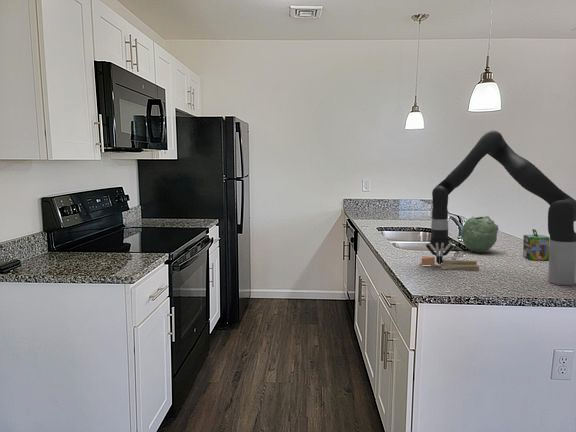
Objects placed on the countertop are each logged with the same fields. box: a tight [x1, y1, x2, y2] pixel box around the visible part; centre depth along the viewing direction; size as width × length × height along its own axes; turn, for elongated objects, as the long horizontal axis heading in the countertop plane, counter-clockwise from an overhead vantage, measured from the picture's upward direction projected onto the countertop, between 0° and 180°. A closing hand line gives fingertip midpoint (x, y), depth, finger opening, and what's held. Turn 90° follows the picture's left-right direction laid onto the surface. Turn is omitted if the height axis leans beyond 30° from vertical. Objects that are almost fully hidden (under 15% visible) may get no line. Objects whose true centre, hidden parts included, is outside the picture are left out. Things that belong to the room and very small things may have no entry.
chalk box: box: [522, 228, 550, 261], centre depth 206 cm, size 9×9×15 cm
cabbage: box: [460, 215, 499, 254], centre depth 224 cm, size 16×19×20 cm
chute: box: [440, 258, 480, 272], centre depth 195 cm, size 12×16×2 cm
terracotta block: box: [421, 255, 436, 267], centre depth 200 cm, size 6×6×4 cm
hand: (439, 263), depth 198 cm, fingers closed
